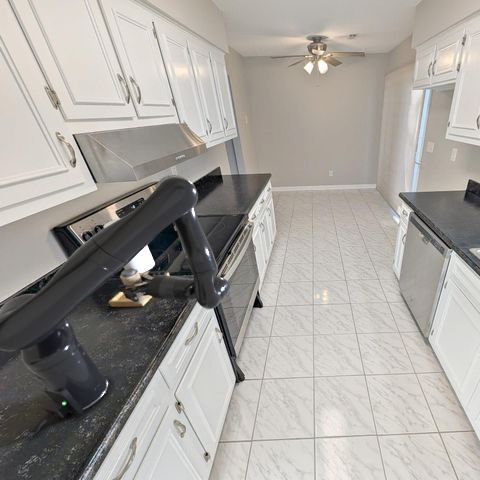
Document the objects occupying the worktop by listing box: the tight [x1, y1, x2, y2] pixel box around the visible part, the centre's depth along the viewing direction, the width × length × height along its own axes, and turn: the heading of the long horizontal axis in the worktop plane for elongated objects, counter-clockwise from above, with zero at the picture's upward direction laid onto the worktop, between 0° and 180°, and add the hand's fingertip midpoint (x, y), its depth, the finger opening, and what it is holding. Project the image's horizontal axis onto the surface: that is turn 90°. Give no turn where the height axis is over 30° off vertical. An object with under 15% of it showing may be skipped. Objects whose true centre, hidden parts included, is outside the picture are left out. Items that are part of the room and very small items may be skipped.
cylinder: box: [103, 217, 156, 274], centre depth 122 cm, size 12×12×25 cm
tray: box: [108, 272, 171, 308], centre depth 110 cm, size 20×14×3 cm
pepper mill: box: [119, 268, 151, 304], centre depth 86 cm, size 5×5×12 cm
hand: (127, 282), depth 86 cm, fingers closed on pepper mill, 5 cm apart
